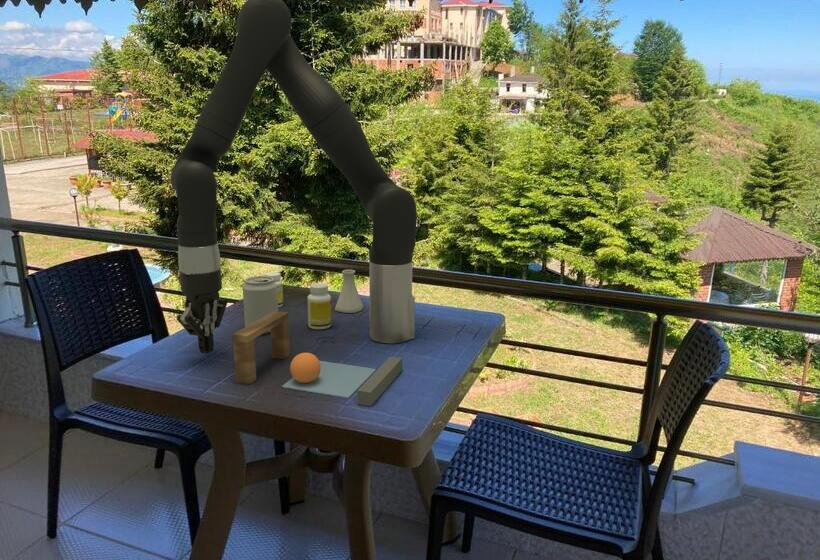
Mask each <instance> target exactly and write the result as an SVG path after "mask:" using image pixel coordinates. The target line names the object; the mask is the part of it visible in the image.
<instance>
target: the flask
mask: <svg viewBox="0 0 820 560" xmlns="http://www.w3.org/2000/svg"><path fill="white" fill-rule="evenodd" d="M355 273H356V270H354V269H344V270H342V271H341V274H342V275H343V277H342V279H343V280H342V286H341V289H340V293H339V296H338V299H337V301H336V304H335V307H334V311H336V312H339V313H343V314H344V313H348V314H350V313H351V314H354V313H357V312H361V311H362V310H364V304H363V302H362V300H361V297H360V294H359V291H358V289H357V285H356V282H355Z"/></svg>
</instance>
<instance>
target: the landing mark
mask: <svg viewBox="0 0 820 560" xmlns="http://www.w3.org/2000/svg"><path fill="white" fill-rule="evenodd" d="M319 361H320V365H321V371H320V374H319V376H318V377H317V378H316V379H315V380H314V381H312V382H310V383H300V382H298V381H296V380H295V379H294V378H293V377H292V378H291V379H289V380H288V381H286V382H285V383H284V384H283V385H281V388H282V387H283V388H284V389H289V388H290V389H289V390H295V391H302V392H308V393H315V394H319V395H325V396H331V397H337V398H344V399H350V398H351V396H353V395H354V393H355V392H357V390H358V389H359V388H360V387H361V386H362V385H363V384H364V383H365V382H366V381H367V380H368V379H369V378H370V377H371V376H372V375H373V374H374V373H375V372H376V371H377V369H376V368H371V367H366V366H365V367H364V366H359V365H352V364H344V363H339V362H337V363H336V362H332V361H331V362H330V361H323V360H319ZM283 388H282V389H283Z"/></svg>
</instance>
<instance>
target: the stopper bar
mask: <svg viewBox="0 0 820 560" xmlns="http://www.w3.org/2000/svg"><path fill="white" fill-rule="evenodd" d="M402 371H403V357H396V356H389V357H388V358H387V359H386V360H385V361H384V362H383V364H382V365H380V366H379V368H378V369H376V371H375V372H374V373H373V374H372V375H371V376H370V377H369V378H368V379H367V380H366V381H365V382H364V383H363V384H362V385H361V386H360V387H359V388H358V389H357V390H356V393H357V399H356V400H357V405H361V406H365V407H368V406H369V407H371V406H373V404H374V403H375V402H376V401H377V400H378V399H379V397H380V396H381V395H382V394H383V393H384V392H385V391H386V389H387V388H389V386H390V385H391V383H393V382H394V380H395V379H396V378H397V377H398V376H399V375H400V374H401V372H402Z"/></svg>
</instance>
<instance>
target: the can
mask: <svg viewBox="0 0 820 560" xmlns="http://www.w3.org/2000/svg"><path fill="white" fill-rule="evenodd" d="M273 280H274V278H272V277H269V276H264V275H254V276H250V277H249V276H248V277H247V278H245V280H244V284H243V285H242V300H243V302H242V303H243V315H244V317H243V319H244V328H245V327H246V326H248V325H250V324H252V323H254V322H256V321H257V320H259V319H261V318H263V317H265V316H266V315H268V314H270V313H272V312H274V311H279V307H278V299H277V284H276V283H275V282H274V281H273ZM269 333H270V334H271V331H270V330H268V331H266V332H265V333H263V334H269ZM263 334H262V335H263Z"/></svg>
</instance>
